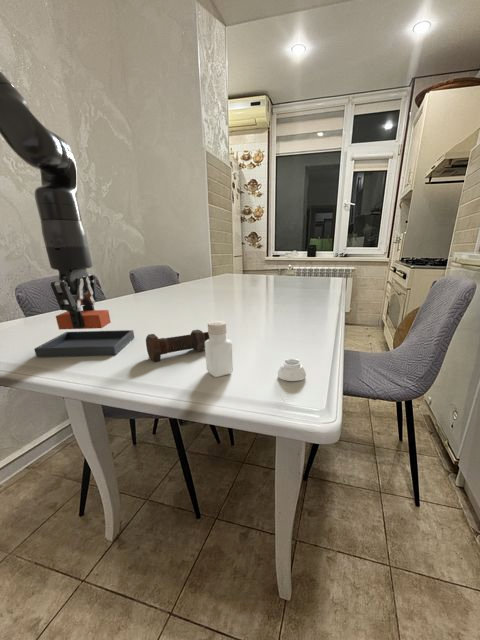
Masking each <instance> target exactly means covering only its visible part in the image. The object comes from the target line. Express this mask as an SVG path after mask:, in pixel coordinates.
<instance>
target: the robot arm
mask: <svg viewBox="0 0 480 640" xmlns="http://www.w3.org/2000/svg"><path fill="white" fill-rule="evenodd" d="M0 135H1V137H2V139H3V140H4V141H5V143H6V144H7V145H8V147H10V149H11V150H12V151H13V152H14V153H15V154H16V155H17V156H18V157H19V158H20V159H21V160H22V161H23V162H24V163H26V164H27V165H29V166H30V167H33V168H35V169H37V170H39V172H40V182H41V186H38V187H36V188H35V189H34V200H35V204H36V209H37V212H38V216H39V220H40V226H41V227H40V229H41V233H42V234H41V235H42V239H43V243H44V246H45V251H46V255H47V258H48V262H49V266H50V268H51V269H52V270H57V271H58V276H59V277H58V280H57V281H51V282H50V287H51V289H52V292H53V294H54V297H55V300H56V301H57V304H58V306H59V308H60V310H61V311H65V312H67V311H69V313H70V317H71V322H72V326H73V328H83V327H85V324H84V320H83V315H82V311H89V310H95V304H96V302H97V301H98V300H99V299H98V287H97V277H96V275H95V274H89V273H88V271H87V269H91V268H92V267H93V262H92V257H91V251H90V248H89V242H88V237H87V233H86V230H85V227H84V224H83V220H82V215H81V210H80V205H79V202H78V168H77V161H76V158H75V155H74V153H73V150H72V148H71V147H70V145H69V144H68V142H67V141H66V140H65V139H63V138H62V137H61V136H59V135H57V134H56V133H55V132H53V131H51V130H49V128H46V126H44V125H43V123H41V121H40V120H38V118H36V116H35V115H34V114H33V113H32V112H31V110H30V107H29V104H28V103H27V101H26V99H25V98H24V97H23V95H22V93H20V91H19V90H18V89H17V87H15V86H14V85H13V83H12V82H11V81H10V80H9V79H8V78H7V77H6V75H5V74H4V73H3V72H2V71H1V70H0Z"/></svg>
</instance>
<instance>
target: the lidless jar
mask: <svg viewBox="0 0 480 640" xmlns="http://www.w3.org/2000/svg"><path fill="white" fill-rule="evenodd" d="M277 377H278V378H279V379H281V380H284V381H288V382H298V381H302V380H304V379H305V378H306V377H307V373H306V370H305V368H304V366H303V365H302V363H301V360H299V359H297V358H286V359H284V360H283V362H282V364H280V366H279V368H278V370H277Z"/></svg>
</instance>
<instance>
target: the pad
mask: <svg viewBox="0 0 480 640" xmlns="http://www.w3.org/2000/svg"><path fill="white" fill-rule="evenodd" d="M81 311H82V315H83V320H84V324H85V327H83V328H73V326H72V322H71V317H70V313H69V311H65V312H62V313H60V314H57V315H55V319H56V323H57V328H58V330H89V329H90V330H92V329H103V328H104V327H106V326H107V325H109V324H111V323H112V321H111V316H110V311H109V310H108V309H97V310H95V309H94V310H89V311H83V310H81Z"/></svg>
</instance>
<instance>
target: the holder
mask: <svg viewBox="0 0 480 640" xmlns="http://www.w3.org/2000/svg"><path fill="white" fill-rule="evenodd" d="M134 339H135V331H134V329H129V330H128V329H125V330H124V329H121V330H88V331H87V330H85V331H84V330H83V331H82V330H81V331H65V332H64V333H61V334H60V335H58V336H55V337H54V338H52V339H50V340H48V341H46V342H44V343H42V344H40V345H39V346H37V347H35V348H33V349H34V353H35V356H36V358H60V357H61V358H62V357H63V358H65V357H66V358H67V357H93V356H95V357H96V356H98V357H99V356H116V355H118V354H119V353H120V352H121V351H122V350H123V349H124V348H125V347H126V346H127V345H128V344H130V342H132V341H133V340H134Z"/></svg>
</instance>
